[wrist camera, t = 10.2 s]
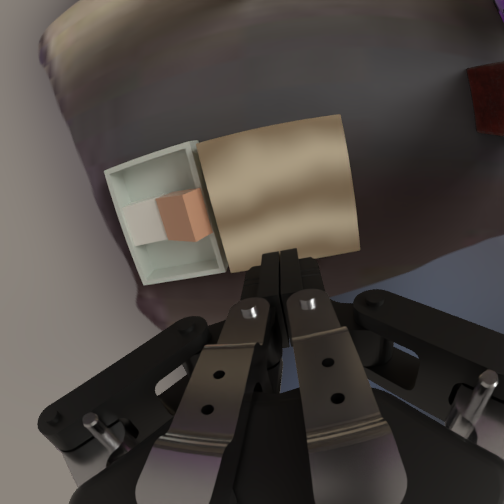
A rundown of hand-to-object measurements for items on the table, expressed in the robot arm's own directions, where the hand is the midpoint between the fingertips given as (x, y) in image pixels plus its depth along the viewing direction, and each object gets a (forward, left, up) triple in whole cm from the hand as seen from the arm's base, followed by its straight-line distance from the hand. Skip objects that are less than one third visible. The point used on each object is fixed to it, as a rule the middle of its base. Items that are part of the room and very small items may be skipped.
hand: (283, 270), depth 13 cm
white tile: (0, -16, -18) cm, 24 cm away
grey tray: (+1, -13, -21) cm, 25 cm away
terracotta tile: (+1, -10, -19) cm, 21 cm away
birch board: (+1, 0, -21) cm, 21 cm away
